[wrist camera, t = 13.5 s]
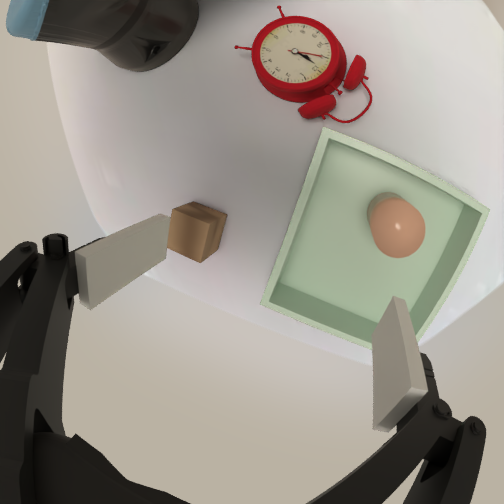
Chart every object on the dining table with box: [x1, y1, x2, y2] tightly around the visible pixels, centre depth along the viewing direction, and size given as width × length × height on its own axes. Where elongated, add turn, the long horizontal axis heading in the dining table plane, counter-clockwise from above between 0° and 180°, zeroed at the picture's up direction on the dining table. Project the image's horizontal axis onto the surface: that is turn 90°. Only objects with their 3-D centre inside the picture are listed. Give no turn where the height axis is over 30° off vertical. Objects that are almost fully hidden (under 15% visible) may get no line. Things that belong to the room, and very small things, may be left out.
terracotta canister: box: [367, 192, 425, 258], centre depth 25 cm, size 5×5×7 cm
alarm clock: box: [235, 6, 372, 123], centre depth 24 cm, size 10×6×15 cm
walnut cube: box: [167, 202, 227, 263], centre depth 34 cm, size 5×5×5 cm
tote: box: [260, 127, 490, 350], centre depth 28 cm, size 19×20×6 cm
